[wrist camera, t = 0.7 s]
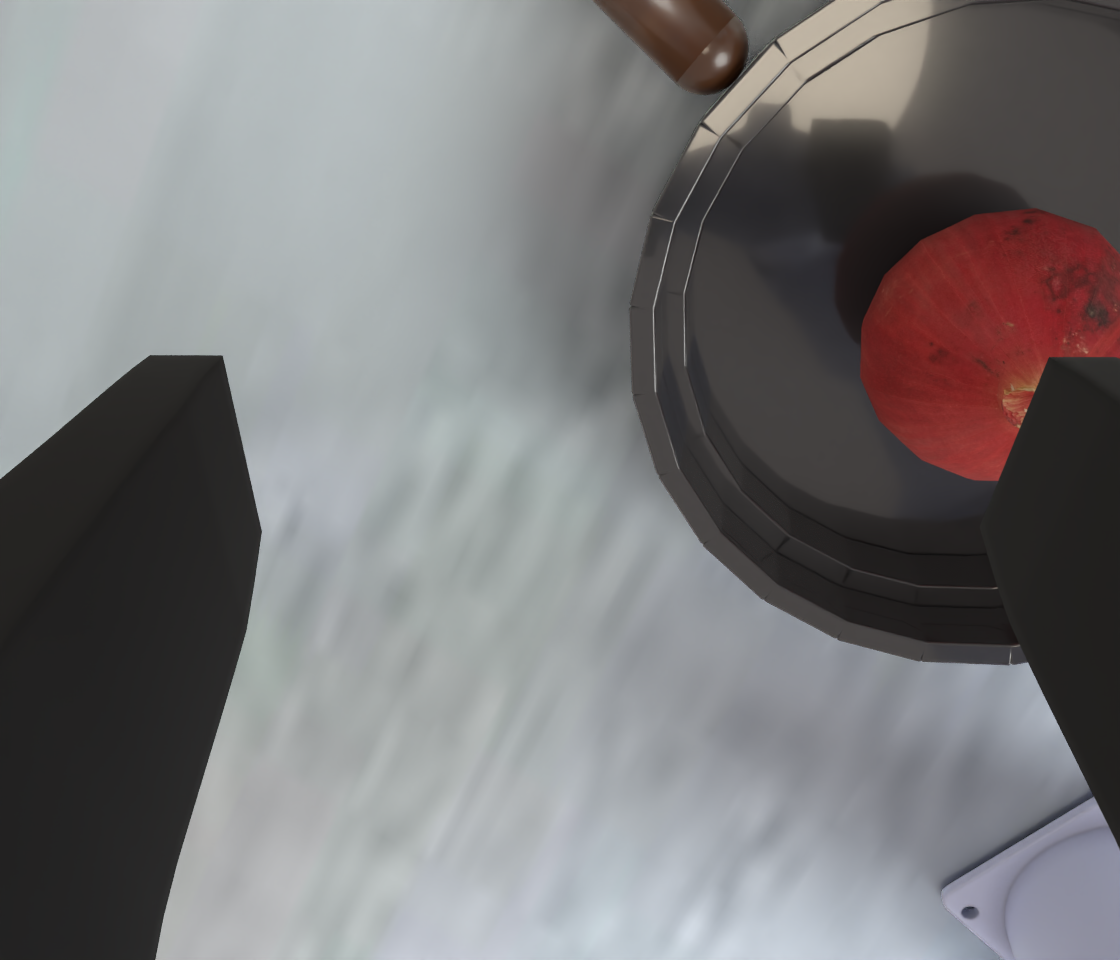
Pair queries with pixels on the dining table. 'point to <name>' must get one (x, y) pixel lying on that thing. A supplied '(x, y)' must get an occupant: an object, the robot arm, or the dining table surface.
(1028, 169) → the pan
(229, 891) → the dining table surface
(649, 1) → the pan handle
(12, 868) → the robot arm
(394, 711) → the dining table surface
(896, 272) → the onion
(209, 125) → the dining table surface
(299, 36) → the dining table surface
